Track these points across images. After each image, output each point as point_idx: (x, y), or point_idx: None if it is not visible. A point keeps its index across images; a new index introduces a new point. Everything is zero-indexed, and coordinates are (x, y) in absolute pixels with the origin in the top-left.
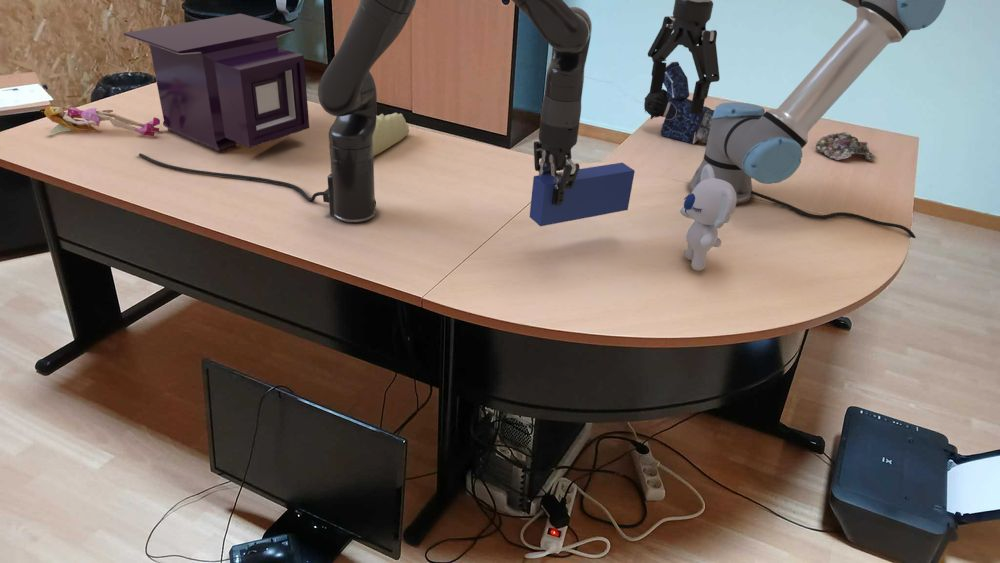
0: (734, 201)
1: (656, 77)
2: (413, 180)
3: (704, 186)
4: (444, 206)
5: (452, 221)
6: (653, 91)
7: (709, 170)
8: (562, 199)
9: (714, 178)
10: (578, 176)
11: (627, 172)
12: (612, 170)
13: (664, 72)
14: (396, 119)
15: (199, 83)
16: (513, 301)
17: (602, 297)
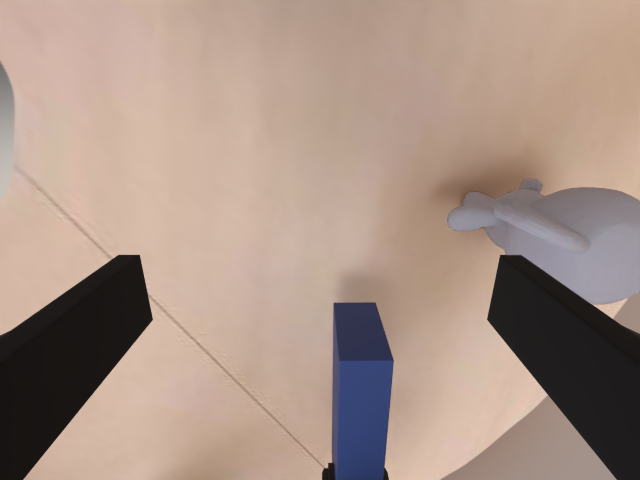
0: None
1: (90, 375)
2: (71, 443)
3: (601, 302)
4: (169, 437)
5: (218, 443)
6: (144, 316)
7: (575, 252)
8: (388, 478)
9: (596, 251)
10: (370, 473)
11: (391, 377)
12: (372, 404)
13: (43, 334)
14: None
15: None
16: (427, 456)
17: (476, 374)
